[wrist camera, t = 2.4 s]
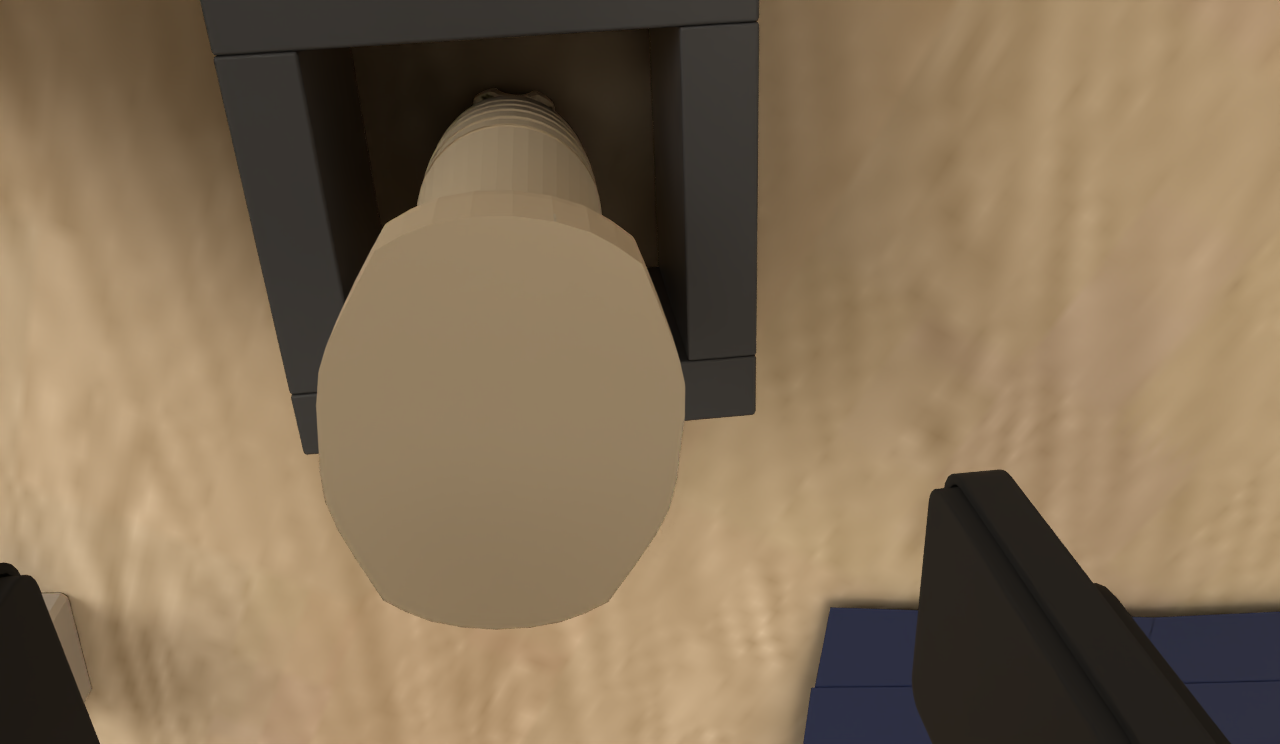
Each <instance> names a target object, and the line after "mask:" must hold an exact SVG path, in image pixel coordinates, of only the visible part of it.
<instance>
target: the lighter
mask: <svg viewBox="0 0 1280 744" xmlns="http://www.w3.org/2000/svg"><path fill="white" fill-rule="evenodd" d="M42 596H43V599H44V601H45V604H46V606H47V609H48V611H49V614H50V617H51V619H52V622H53V624H54V627H55V629H56V632H57V635H58V637H59V640H60V642H61V645H62V647H63V650H64V653H65V655H66V658H67V660H68V663H69V665H70V668H71V671H72V673H73V676H74V678H75V681H76V683H77V686H78V689H79V691H80V694H81V696H82V699H83V701H84V703H85V701H86V699H87V697H88V695H89V693H90V691H91V689H92V688H91V684H90V680H89V676H88V672H87V668H86V665H85V661H84V657H83V653H82V649H81V645H80V642H79V638H78V634H77V630H76V626H75V622H74V618H73V615H72V611H71V607H70V603H69V599H68V597H67V596H65V595H64V594H62V593H42Z"/></svg>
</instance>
